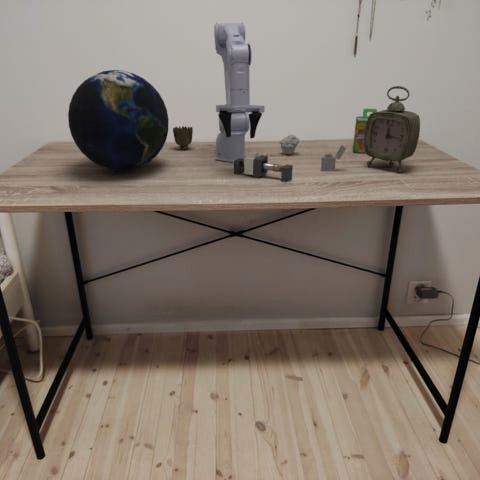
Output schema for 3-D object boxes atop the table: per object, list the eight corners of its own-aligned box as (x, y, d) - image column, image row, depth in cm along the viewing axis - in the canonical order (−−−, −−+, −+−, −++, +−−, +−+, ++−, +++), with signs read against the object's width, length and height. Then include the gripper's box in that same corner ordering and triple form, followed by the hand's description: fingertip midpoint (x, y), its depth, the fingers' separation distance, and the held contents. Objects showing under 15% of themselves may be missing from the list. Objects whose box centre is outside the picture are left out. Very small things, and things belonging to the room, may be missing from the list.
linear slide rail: (233, 173, 137) (233, 160, 135) (239, 170, 139) (239, 157, 138) (287, 182, 129) (287, 167, 127) (291, 178, 132) (292, 164, 130)
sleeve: (244, 173, 134) (244, 153, 131) (251, 169, 138) (251, 150, 135) (252, 174, 133) (253, 154, 130) (259, 170, 137) (260, 151, 134)
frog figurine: (298, 156, 154) (299, 137, 151) (278, 156, 155) (279, 136, 152) (298, 152, 160) (299, 133, 157) (279, 152, 161) (280, 132, 158)
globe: (124, 152, 161) (114, 65, 148) (190, 164, 147) (185, 68, 134) (56, 173, 138) (36, 72, 125) (126, 189, 124) (112, 76, 111)
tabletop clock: (360, 166, 143) (370, 85, 132) (374, 160, 149) (384, 83, 138) (403, 175, 134) (417, 89, 123) (415, 169, 140) (429, 86, 129)
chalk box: (352, 153, 159) (357, 110, 152) (352, 147, 167) (356, 106, 160) (379, 154, 157) (384, 111, 151) (377, 148, 165) (383, 107, 159)
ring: (254, 176, 132) (254, 159, 130) (261, 171, 137) (261, 155, 134) (260, 176, 132) (260, 159, 129) (267, 172, 136) (267, 155, 133)
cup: (192, 151, 162) (191, 129, 158) (172, 151, 162) (171, 129, 159) (194, 146, 169) (193, 125, 165) (175, 146, 169) (174, 125, 165)
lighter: (321, 171, 139) (323, 146, 135) (320, 169, 140) (322, 144, 137) (344, 171, 139) (346, 146, 135) (343, 169, 140) (345, 144, 137)
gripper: (211, 90, 126) (212, 138, 131) (259, 90, 121) (259, 140, 126) (220, 89, 132) (222, 135, 137) (266, 89, 127) (266, 136, 132)
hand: (240, 137), depth 132 cm, fingers open, 7 cm apart
